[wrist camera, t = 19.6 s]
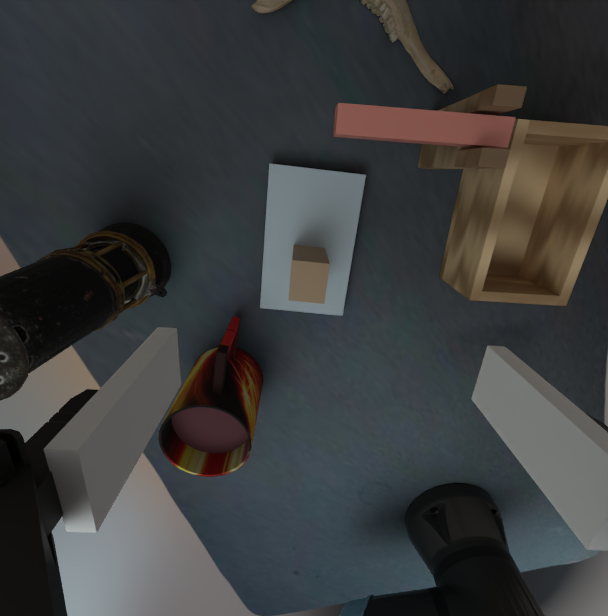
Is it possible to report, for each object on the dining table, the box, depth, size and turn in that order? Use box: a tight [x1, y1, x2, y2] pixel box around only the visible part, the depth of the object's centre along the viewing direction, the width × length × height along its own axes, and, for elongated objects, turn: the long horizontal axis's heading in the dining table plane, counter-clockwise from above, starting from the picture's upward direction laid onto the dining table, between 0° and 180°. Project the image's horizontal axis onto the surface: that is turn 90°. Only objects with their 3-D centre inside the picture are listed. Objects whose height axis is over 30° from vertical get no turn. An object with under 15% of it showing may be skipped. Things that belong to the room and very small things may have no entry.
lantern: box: [0, 223, 170, 400], centre depth 26 cm, size 9×9×30 cm
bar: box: [333, 103, 516, 149], centre depth 26 cm, size 2×13×2 cm, turn 86°
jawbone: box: [252, 0, 454, 94], centre depth 31 cm, size 9×20×2 cm, turn 72°
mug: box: [159, 316, 263, 477], centre depth 40 cm, size 10×14×12 cm
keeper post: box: [418, 84, 527, 169], centre depth 29 cm, size 5×2×13 cm, turn 176°
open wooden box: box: [439, 119, 608, 306], centre depth 35 cm, size 16×10×8 cm, turn 176°
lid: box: [260, 163, 366, 316], centre depth 35 cm, size 16×10×9 cm, turn 174°
